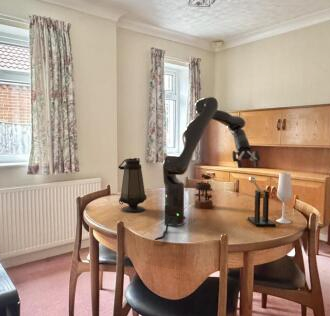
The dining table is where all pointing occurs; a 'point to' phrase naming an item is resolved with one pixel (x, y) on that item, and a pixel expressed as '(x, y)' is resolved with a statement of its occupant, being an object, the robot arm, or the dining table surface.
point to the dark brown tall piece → (203, 187)
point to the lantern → (132, 186)
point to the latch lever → (262, 193)
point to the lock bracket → (263, 220)
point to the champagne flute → (284, 193)
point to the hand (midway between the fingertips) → (248, 166)
